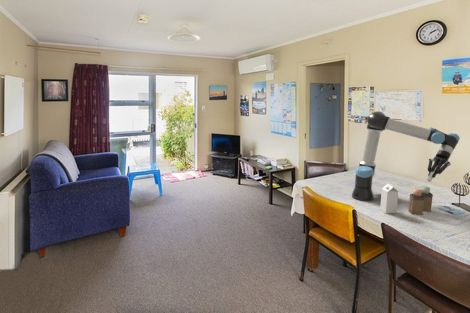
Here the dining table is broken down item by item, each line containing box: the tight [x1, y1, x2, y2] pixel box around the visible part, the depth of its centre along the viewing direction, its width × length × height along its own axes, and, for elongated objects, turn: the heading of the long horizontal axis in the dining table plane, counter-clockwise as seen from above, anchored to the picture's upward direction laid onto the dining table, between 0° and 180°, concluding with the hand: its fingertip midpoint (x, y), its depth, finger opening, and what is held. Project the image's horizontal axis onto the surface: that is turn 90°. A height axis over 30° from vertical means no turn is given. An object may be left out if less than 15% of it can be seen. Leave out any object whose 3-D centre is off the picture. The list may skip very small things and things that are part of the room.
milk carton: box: [379, 182, 399, 214], centre depth 192 cm, size 7×7×19 cm
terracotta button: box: [412, 188, 422, 197], centre depth 188 cm, size 5×5×4 cm
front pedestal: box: [407, 193, 425, 216], centre depth 189 cm, size 6×6×12 cm
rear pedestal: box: [422, 192, 434, 213], centre depth 194 cm, size 6×6×12 cm
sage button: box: [421, 186, 431, 194], centre depth 192 cm, size 5×5×4 cm
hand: (428, 180), depth 192 cm, fingers closed
